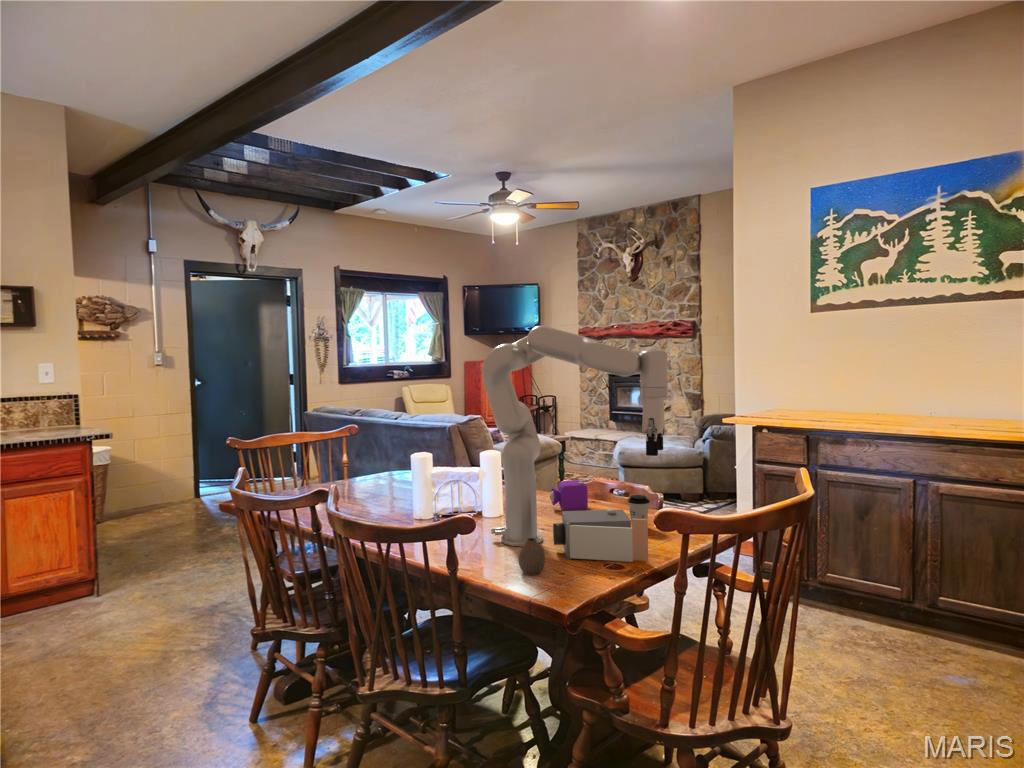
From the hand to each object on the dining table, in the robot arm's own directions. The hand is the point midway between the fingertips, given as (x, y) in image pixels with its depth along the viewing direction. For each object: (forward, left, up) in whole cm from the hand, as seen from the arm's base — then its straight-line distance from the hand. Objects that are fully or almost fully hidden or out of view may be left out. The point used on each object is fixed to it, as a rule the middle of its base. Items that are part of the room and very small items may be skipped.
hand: (654, 452), depth 174 cm
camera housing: (-19, -1, -28) cm, 34 cm away
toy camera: (-21, +46, -28) cm, 57 cm away
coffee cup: (-1, +20, -28) cm, 34 cm away
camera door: (-16, -11, -27) cm, 34 cm away
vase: (-37, -17, -28) cm, 49 cm away
